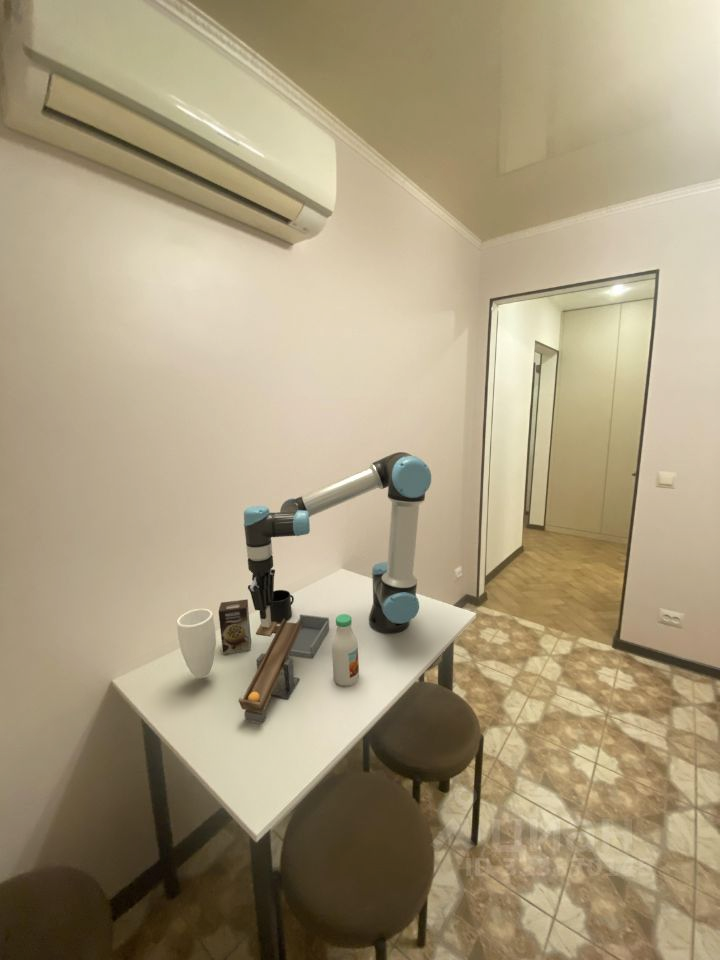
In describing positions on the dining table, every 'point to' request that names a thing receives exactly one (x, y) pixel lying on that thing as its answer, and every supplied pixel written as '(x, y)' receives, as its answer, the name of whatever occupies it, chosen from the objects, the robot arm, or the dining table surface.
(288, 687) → the fulcrum
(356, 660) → the milk bottle
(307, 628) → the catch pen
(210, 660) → the cup
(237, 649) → the coffee box
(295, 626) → the lever
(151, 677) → the dining table surface
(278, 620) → the mug
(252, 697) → the ball
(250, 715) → the block
